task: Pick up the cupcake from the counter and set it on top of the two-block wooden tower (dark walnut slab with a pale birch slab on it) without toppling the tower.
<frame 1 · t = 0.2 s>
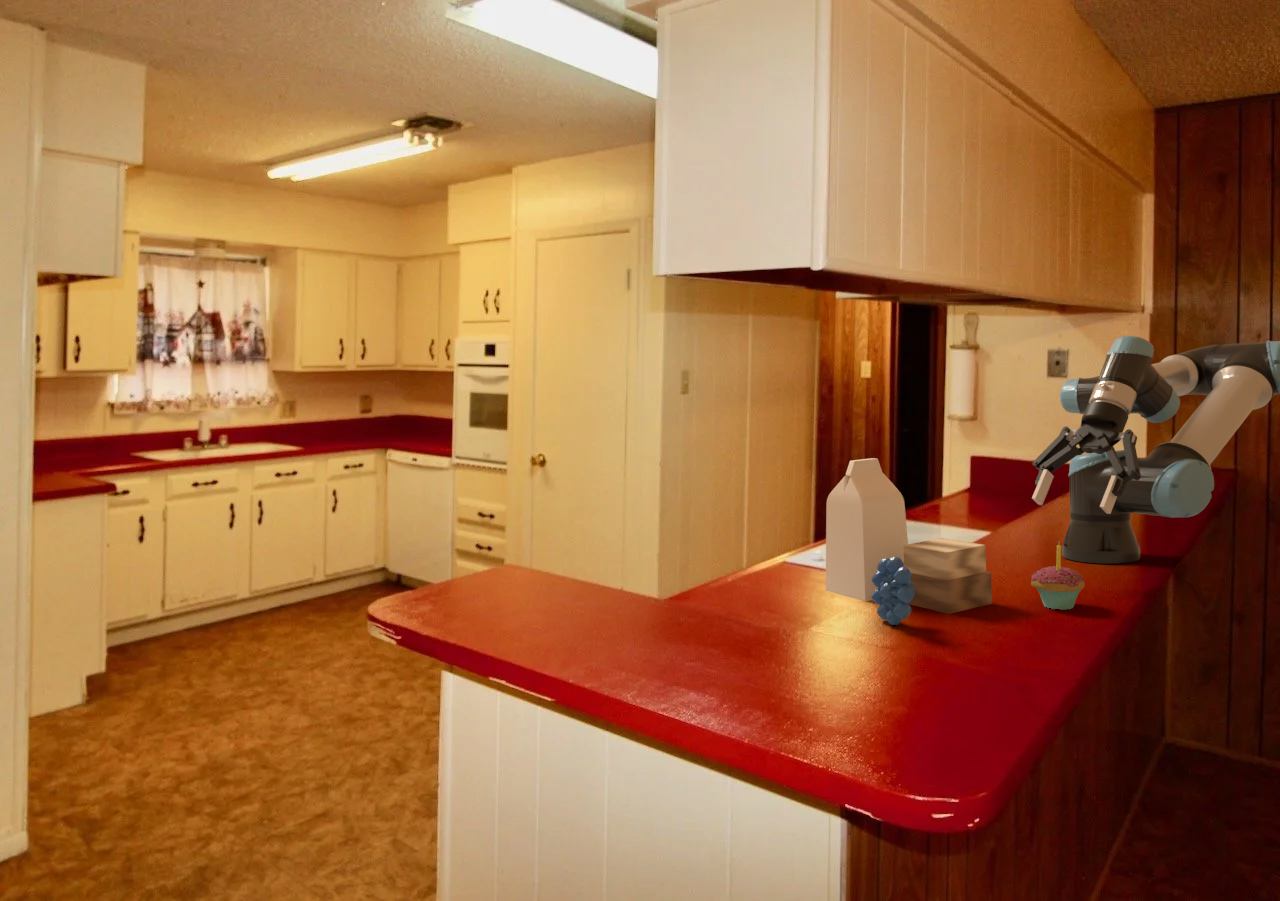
hand: (1069, 506, 167), 16 cm above the table, tool tilted 35°, fingers open, 13 cm apart
grapes: (898, 625, 150), on the table
milk: (868, 592, 174), on the table
block top: (944, 572, 162), point 6 cm above the table, touching block bottom
cupcake: (1057, 607, 156), on the table
block bottom: (946, 604, 162), on the table, touching block top
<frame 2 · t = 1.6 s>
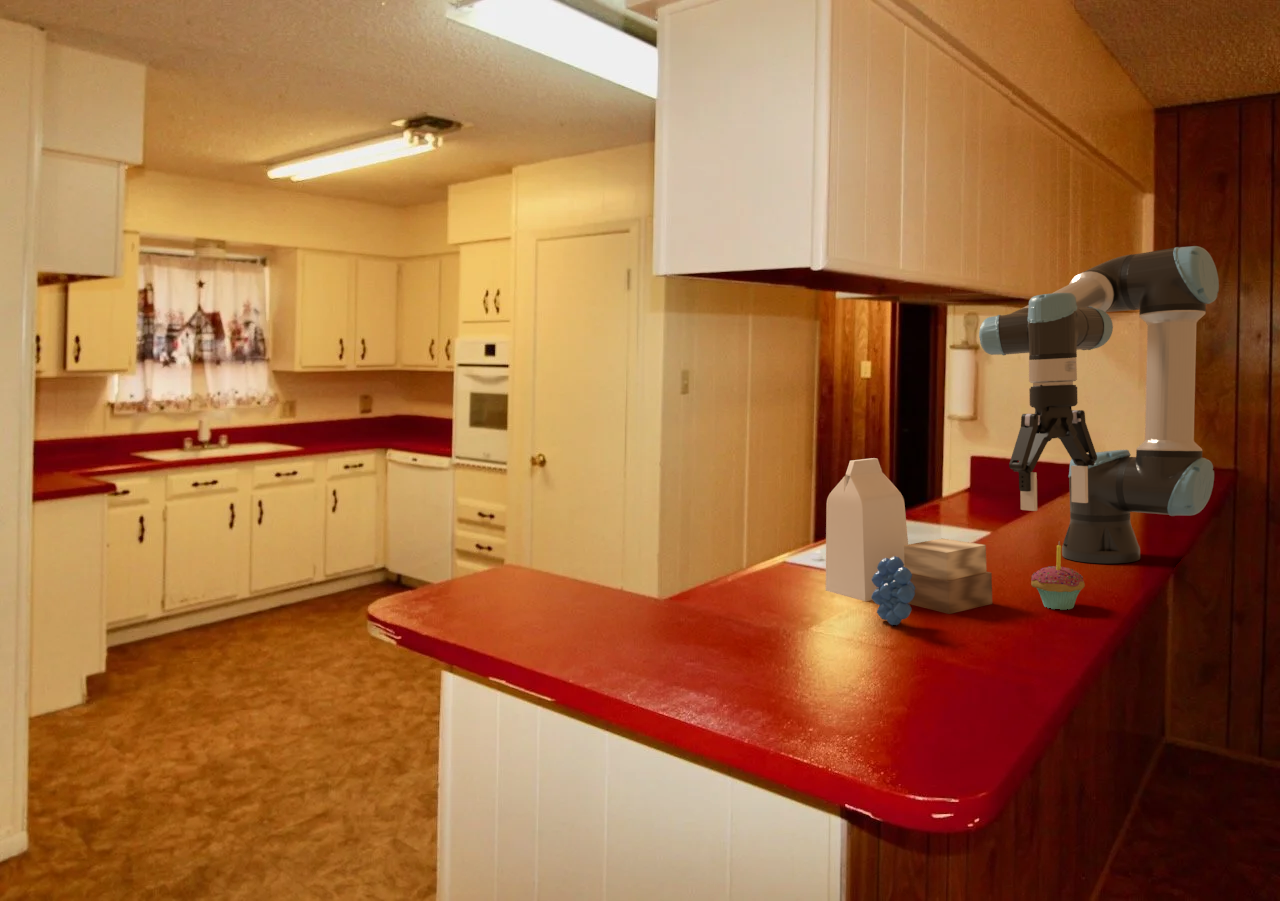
hand: (1054, 506, 154), 18 cm above the table, tool pointing down, fingers open, 13 cm apart
nothing on the table moved.
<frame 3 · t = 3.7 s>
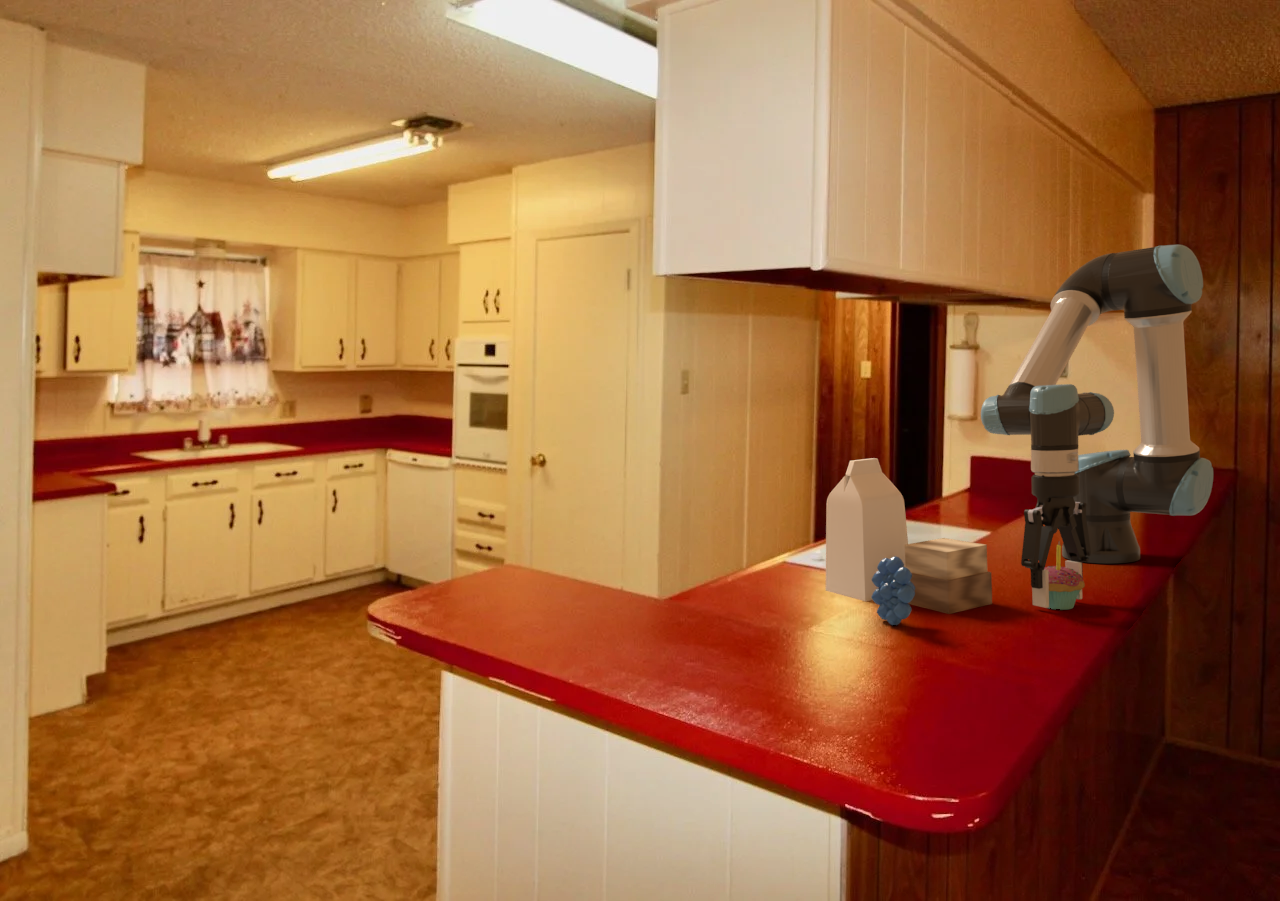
hand: (1057, 601, 156), 1 cm above the table, tool pointing down, fingers closed on cupcake, 8 cm apart
block top: (945, 571, 162), point 6 cm above the table
cupcake: (1057, 607, 156), on the table, touching gripper
block bottom: (946, 604, 162), on the table
everything else where it was.
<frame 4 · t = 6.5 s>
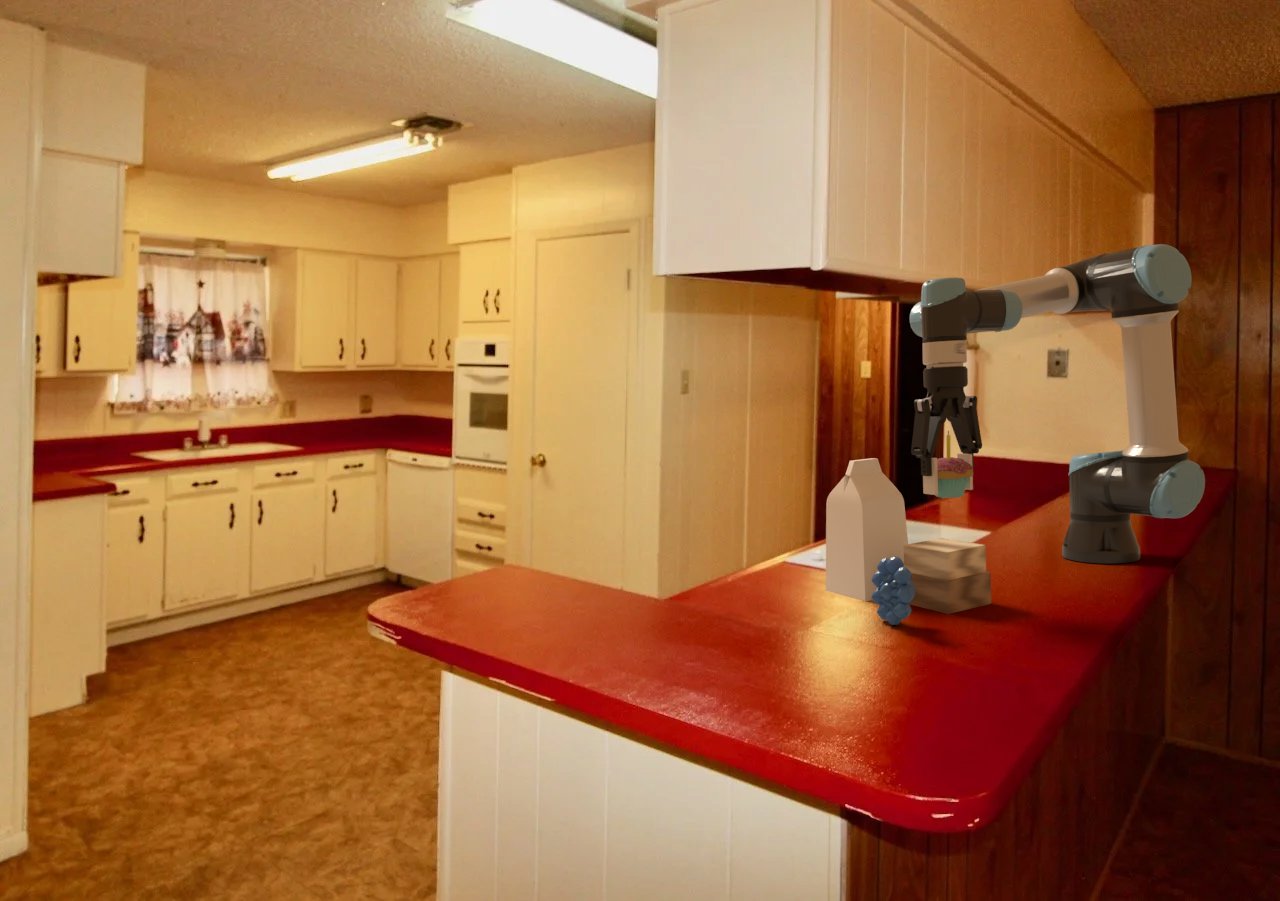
hand: (948, 491, 160), 21 cm above the table, tool pointing down, fingers closed on cupcake, 8 cm apart
block top: (944, 572, 162), point 6 cm above the table, touching block bottom
cupcake: (948, 497, 160), point 19 cm above the table, touching gripper
block bottom: (945, 604, 162), on the table, touching block top
everything else where it was.
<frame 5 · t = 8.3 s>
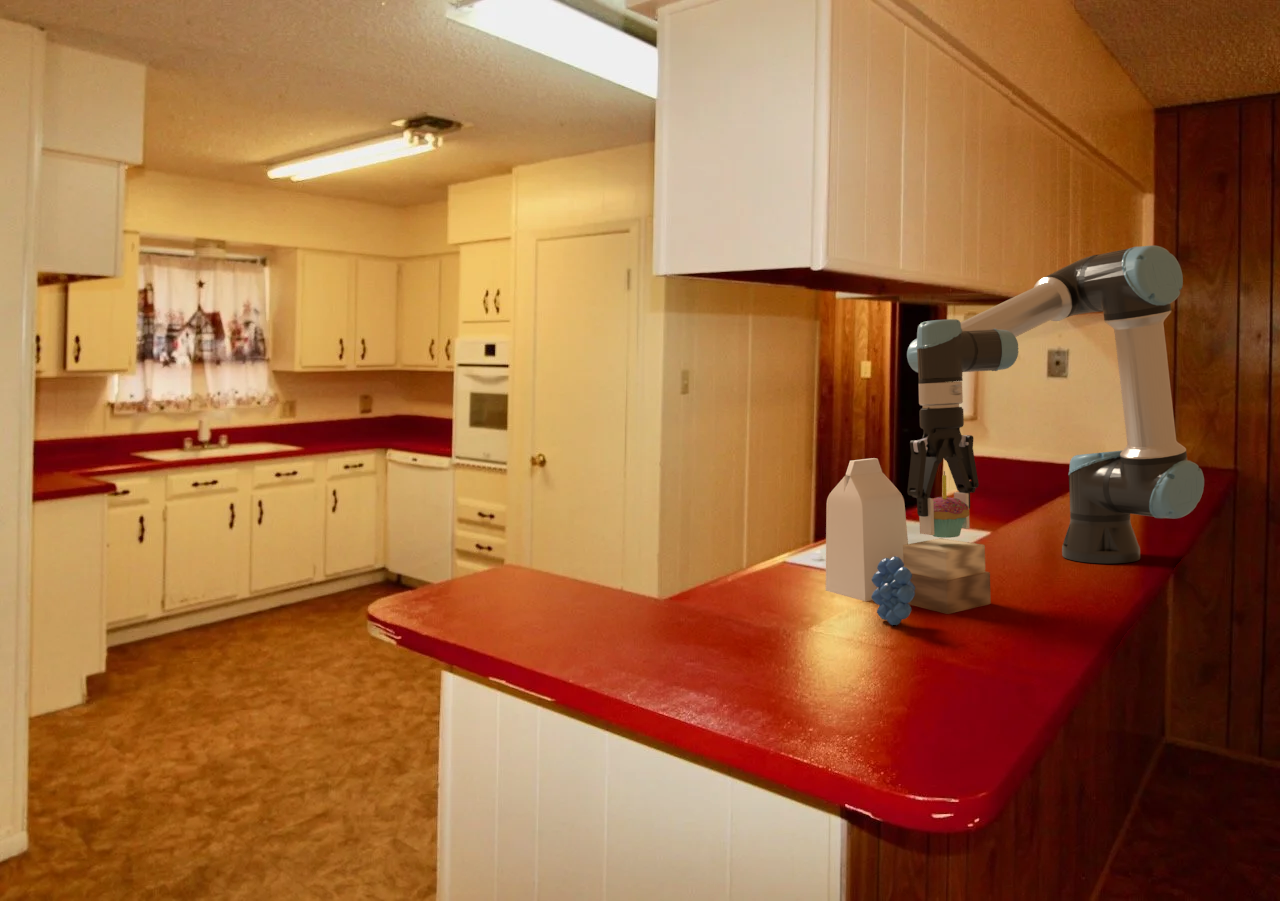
hand: (944, 530, 161), 13 cm above the table, tool pointing down, fingers closed on cupcake, 8 cm apart
cupcake: (945, 536, 161), point 12 cm above the table, touching gripper
everything else where it was.
when the fingers open (13 cm above the table, at t = 8.7 s): cupcake drops 2 cm, resting on block top.
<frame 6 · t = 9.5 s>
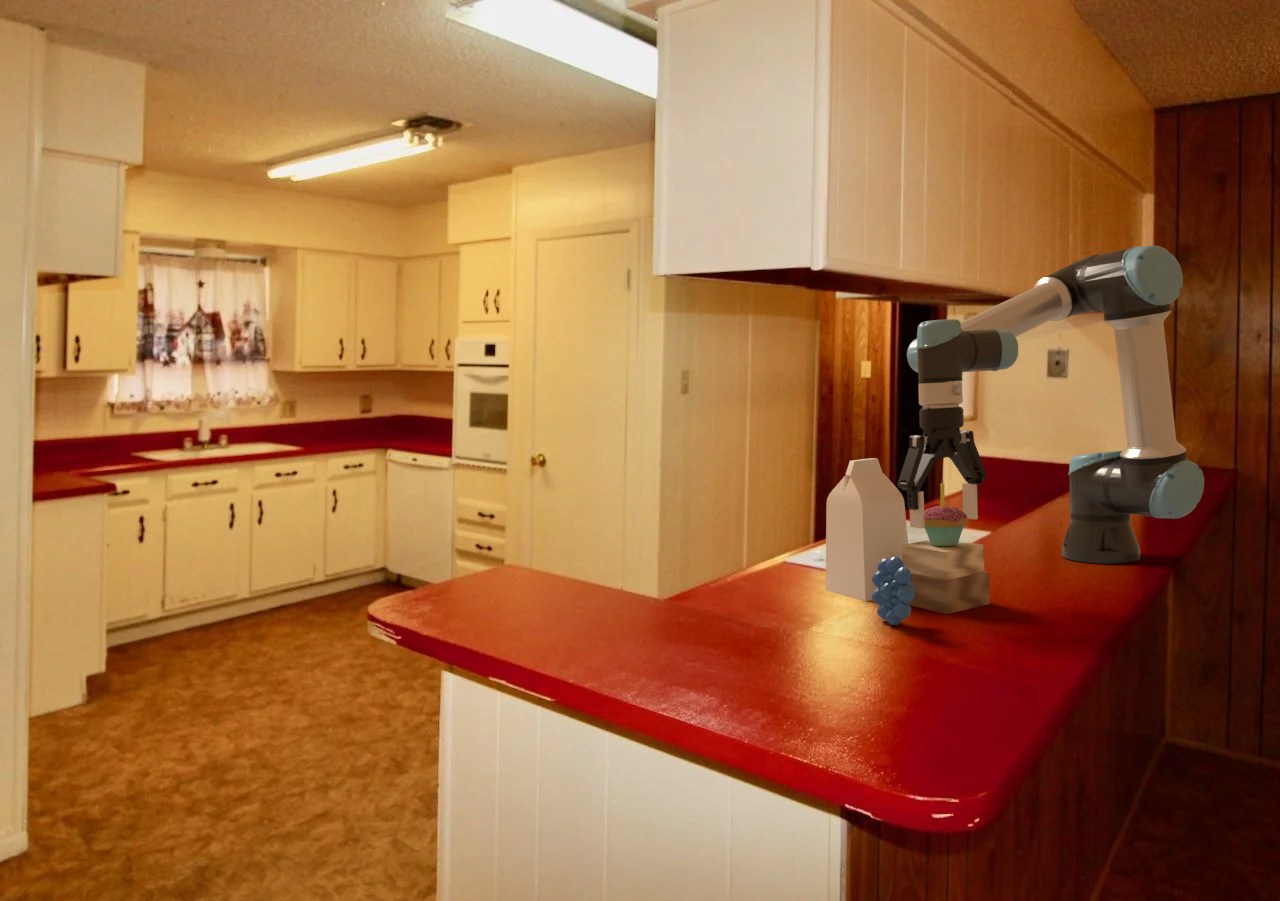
hand: (944, 523, 161), 15 cm above the table, tool pointing down, fingers open, 13 cm apart
block top: (943, 572, 162), point 6 cm above the table, touching block bottom, cupcake
cupcake: (943, 545, 162), point 11 cm above the table, touching block top
everything else where it was.
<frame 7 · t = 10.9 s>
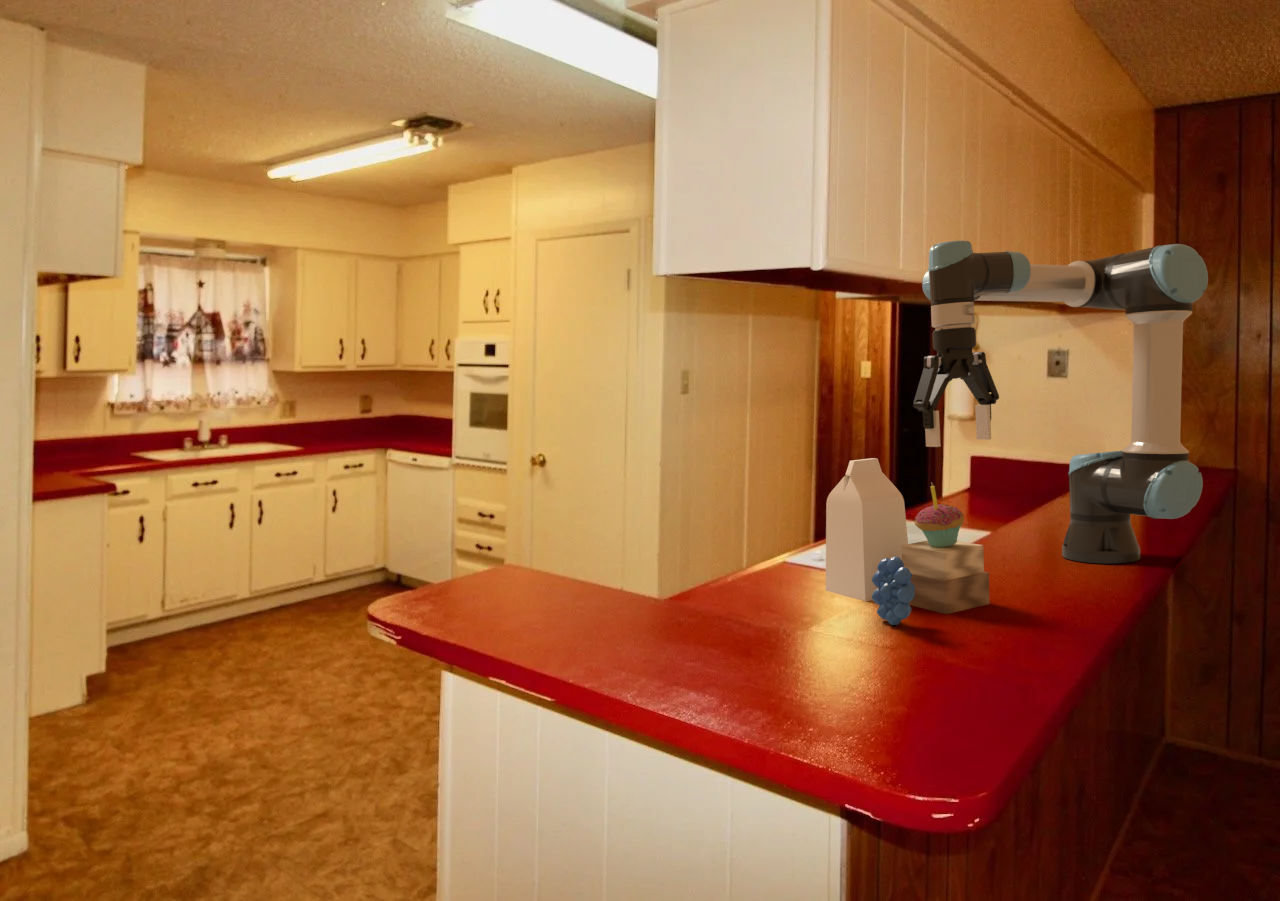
hand: (959, 443, 164), 29 cm above the table, tool pointing down, fingers open, 13 cm apart
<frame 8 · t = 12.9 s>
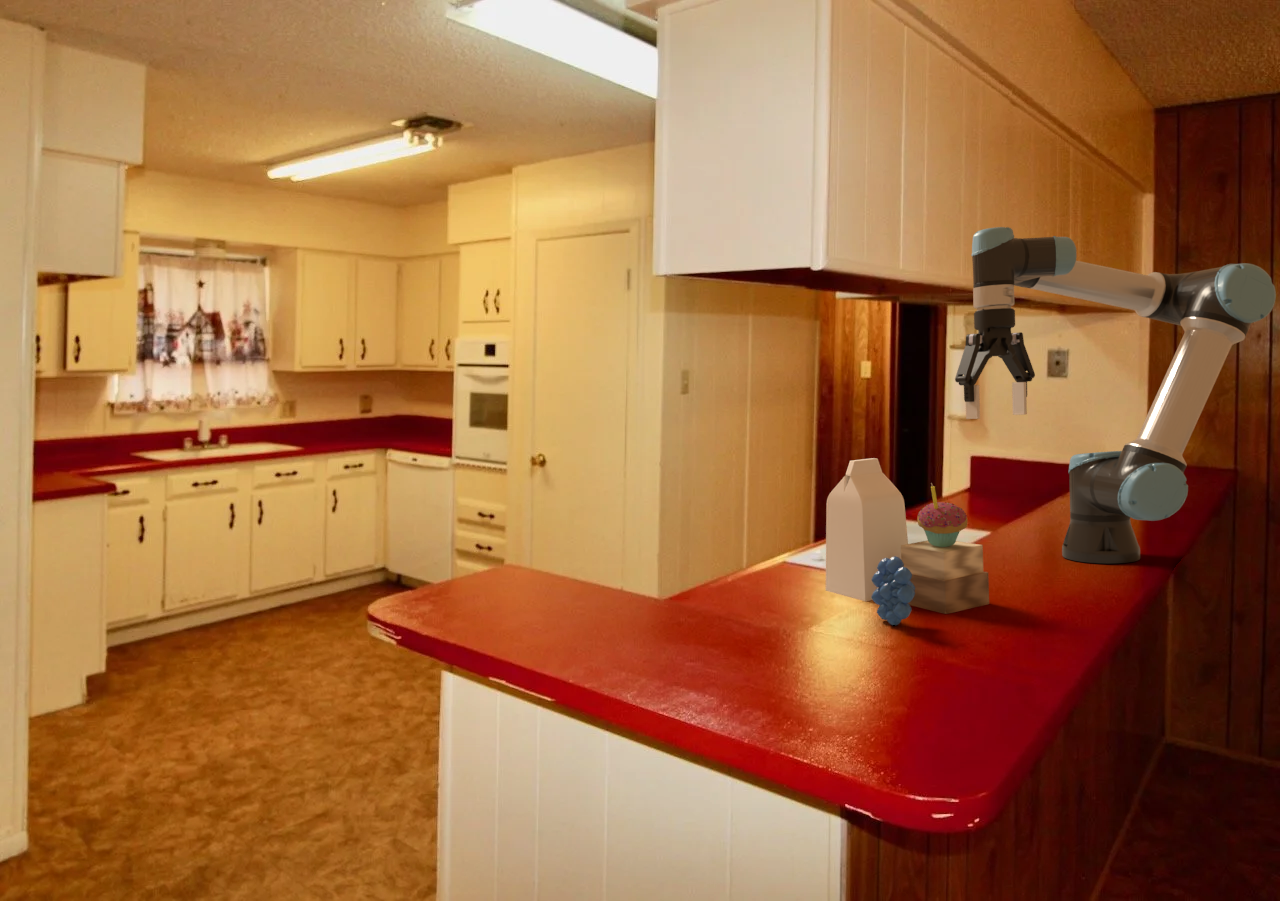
hand: (996, 416, 176), 33 cm above the table, tool pointing down, fingers open, 13 cm apart
at the end: cupcake inside the target area on the block top (0.4 cm from its centre), point 5.9 cm above the block top's base; block top 0.2 cm off-centre on the block bottom, point 6.0 cm above the block bottom's base; block top tilted 0° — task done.
